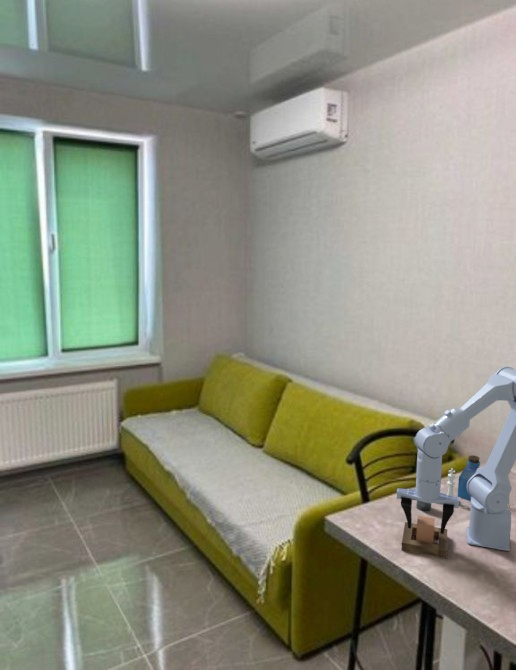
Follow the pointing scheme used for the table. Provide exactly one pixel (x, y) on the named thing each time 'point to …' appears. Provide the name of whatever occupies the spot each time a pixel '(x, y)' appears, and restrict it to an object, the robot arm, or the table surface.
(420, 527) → the terracotta block
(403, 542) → the walnut collar
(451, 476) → the chess piece
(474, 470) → the perfume bottle
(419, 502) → the metal cylinder
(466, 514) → the table surface
